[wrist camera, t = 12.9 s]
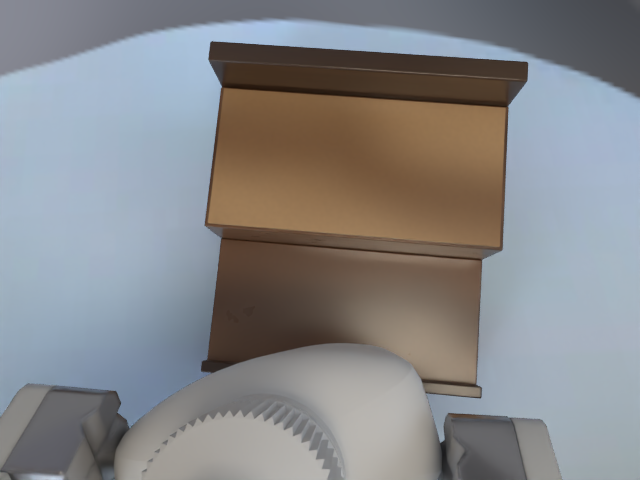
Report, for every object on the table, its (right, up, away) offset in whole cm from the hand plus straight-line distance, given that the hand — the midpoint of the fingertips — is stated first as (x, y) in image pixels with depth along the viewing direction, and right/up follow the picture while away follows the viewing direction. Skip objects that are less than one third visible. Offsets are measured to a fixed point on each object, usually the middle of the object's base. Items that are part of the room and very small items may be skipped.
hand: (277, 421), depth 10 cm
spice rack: (+3, +3, +25) cm, 26 cm away
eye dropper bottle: (0, -2, +7) cm, 7 cm away
